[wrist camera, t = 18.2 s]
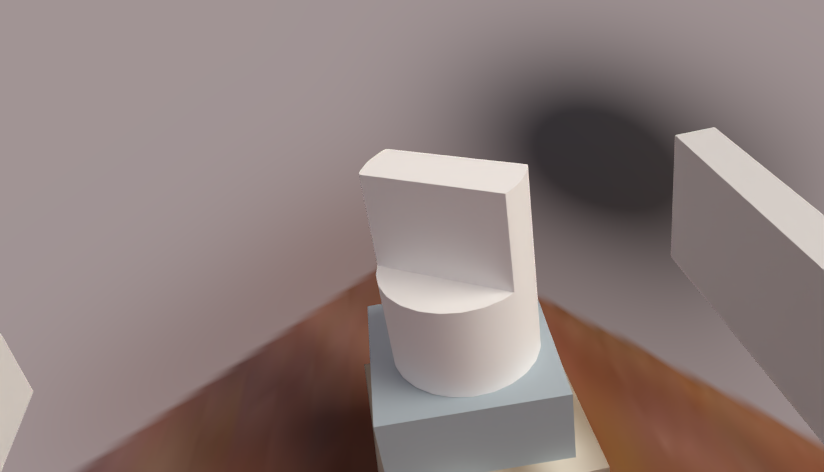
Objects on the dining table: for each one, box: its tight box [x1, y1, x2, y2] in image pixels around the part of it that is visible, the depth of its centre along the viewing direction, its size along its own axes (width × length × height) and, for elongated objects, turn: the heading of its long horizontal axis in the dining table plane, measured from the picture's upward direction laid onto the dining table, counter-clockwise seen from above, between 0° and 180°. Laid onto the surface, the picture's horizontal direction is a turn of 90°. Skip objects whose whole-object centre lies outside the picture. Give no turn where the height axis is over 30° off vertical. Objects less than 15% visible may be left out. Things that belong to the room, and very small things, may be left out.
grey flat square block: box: [368, 301, 576, 472], centre depth 48 cm, size 11×11×5 cm
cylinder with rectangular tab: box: [359, 149, 541, 397], centre depth 43 cm, size 9×9×12 cm
